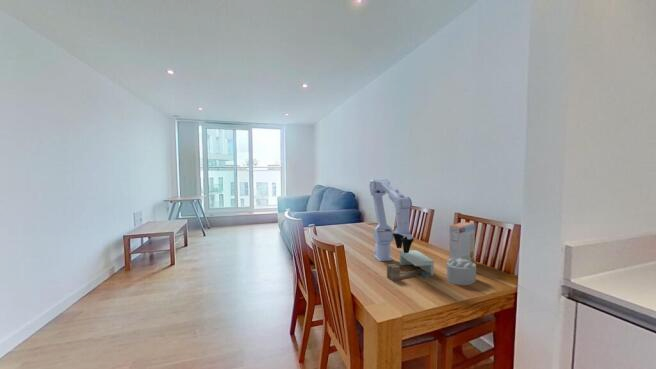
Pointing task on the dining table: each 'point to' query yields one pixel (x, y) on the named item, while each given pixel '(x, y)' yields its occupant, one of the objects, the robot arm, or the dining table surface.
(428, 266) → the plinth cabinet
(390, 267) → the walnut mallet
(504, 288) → the dining table surface
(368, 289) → the dining table surface
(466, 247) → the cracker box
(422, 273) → the grey square block
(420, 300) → the dining table surface
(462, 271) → the lumpy-topped squat cylinder
